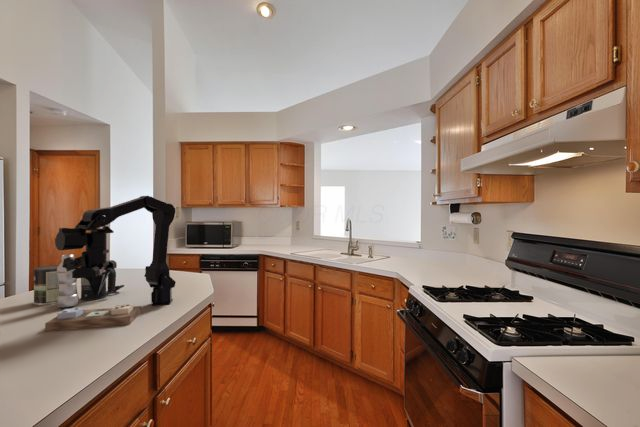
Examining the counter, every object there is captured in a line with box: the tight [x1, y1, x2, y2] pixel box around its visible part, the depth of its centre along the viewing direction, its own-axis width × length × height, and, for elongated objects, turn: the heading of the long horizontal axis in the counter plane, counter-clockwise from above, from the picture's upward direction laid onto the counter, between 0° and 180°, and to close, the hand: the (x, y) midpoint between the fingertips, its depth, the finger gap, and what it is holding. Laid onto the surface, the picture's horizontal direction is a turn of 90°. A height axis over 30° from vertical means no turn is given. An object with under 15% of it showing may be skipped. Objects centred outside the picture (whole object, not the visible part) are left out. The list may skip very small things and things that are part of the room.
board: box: [44, 305, 142, 332], centre depth 105 cm, size 23×12×2 cm, turn 105°
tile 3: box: [111, 303, 134, 315], centre depth 106 cm, size 5×5×2 cm
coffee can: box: [32, 264, 60, 306], centre depth 129 cm, size 10×10×14 cm
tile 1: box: [85, 311, 109, 317], centre depth 105 cm, size 5×5×2 cm
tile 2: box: [56, 307, 84, 319], centre depth 103 cm, size 5×5×2 cm
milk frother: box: [79, 268, 125, 301], centre depth 138 cm, size 14×16×15 cm
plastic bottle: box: [56, 253, 80, 309], centre depth 121 cm, size 6×7×20 cm
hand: (96, 294), depth 104 cm, fingers closed
